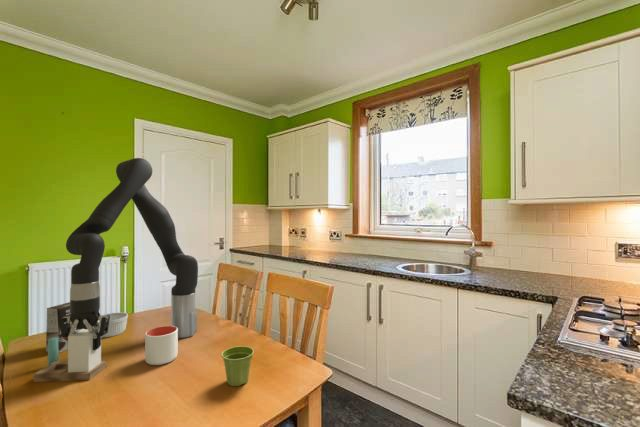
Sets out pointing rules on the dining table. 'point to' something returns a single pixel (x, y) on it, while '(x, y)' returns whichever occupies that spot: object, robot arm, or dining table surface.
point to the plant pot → (237, 364)
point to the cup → (161, 345)
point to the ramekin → (115, 323)
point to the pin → (52, 350)
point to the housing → (82, 352)
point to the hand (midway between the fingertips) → (85, 349)
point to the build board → (51, 372)
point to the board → (83, 373)
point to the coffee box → (57, 325)
